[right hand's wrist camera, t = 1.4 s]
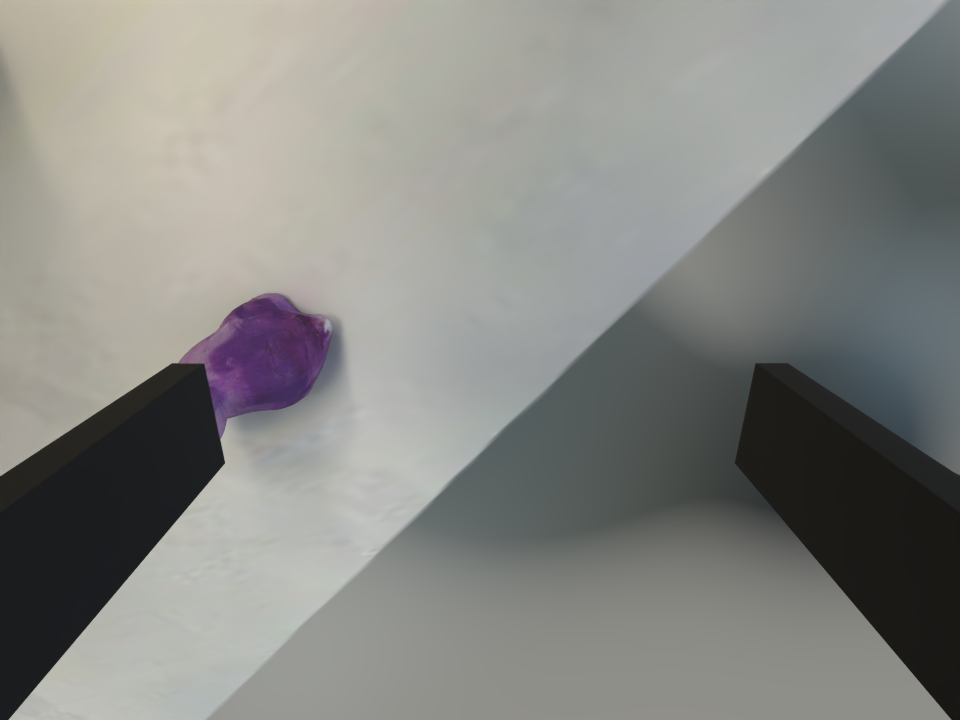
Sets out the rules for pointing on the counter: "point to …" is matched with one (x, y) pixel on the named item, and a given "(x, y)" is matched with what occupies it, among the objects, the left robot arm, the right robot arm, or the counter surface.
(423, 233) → the counter surface
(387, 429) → the counter surface
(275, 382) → the figurine
